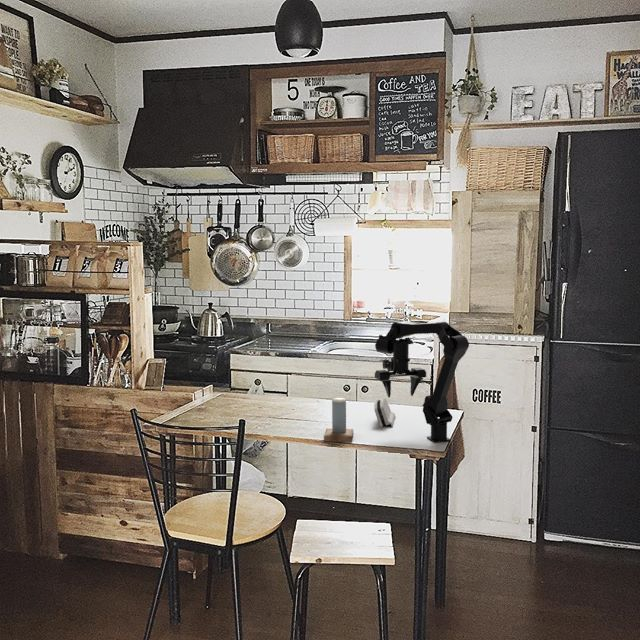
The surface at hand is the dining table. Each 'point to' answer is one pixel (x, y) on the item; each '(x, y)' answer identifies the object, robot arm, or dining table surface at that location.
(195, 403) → the dining table surface
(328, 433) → the stand
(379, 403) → the hinge
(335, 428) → the tin
